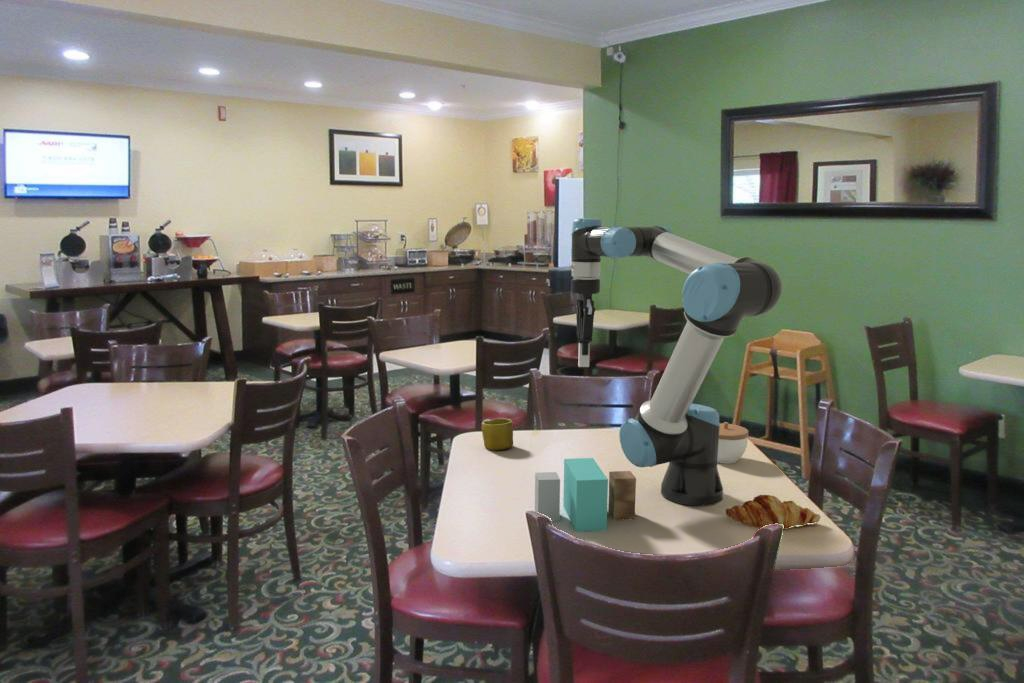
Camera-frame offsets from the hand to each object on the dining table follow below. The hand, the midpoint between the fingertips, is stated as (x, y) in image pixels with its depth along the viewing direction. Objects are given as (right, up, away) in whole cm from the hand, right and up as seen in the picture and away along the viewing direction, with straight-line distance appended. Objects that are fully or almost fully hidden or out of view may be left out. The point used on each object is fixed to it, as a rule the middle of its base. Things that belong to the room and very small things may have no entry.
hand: (583, 366), depth 205 cm
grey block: (-11, -34, -26) cm, 44 cm away
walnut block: (+7, -34, -25) cm, 43 cm away
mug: (-24, -25, +28) cm, 45 cm away
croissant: (+41, -35, -29) cm, 61 cm away
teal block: (-2, -34, -26) cm, 44 cm away
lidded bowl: (+42, -28, +16) cm, 53 cm away
